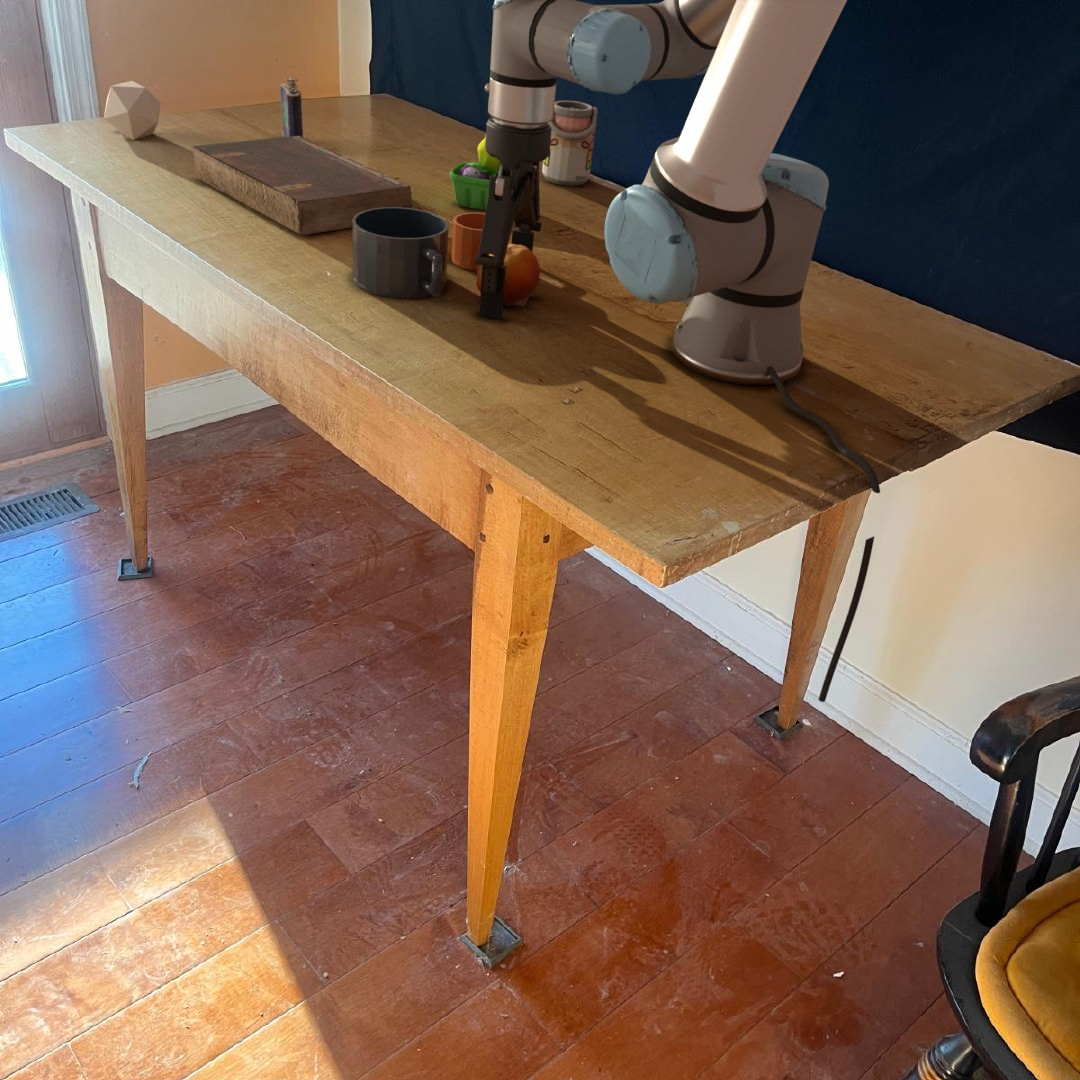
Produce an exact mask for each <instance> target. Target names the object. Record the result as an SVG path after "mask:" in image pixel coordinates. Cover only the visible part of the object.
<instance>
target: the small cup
mask: <svg viewBox="0 0 1080 1080" xmlns="http://www.w3.org/2000/svg"><path fill="white" fill-rule="evenodd" d="M484 218H485V212H477V211H476V212H464V213H459V214H457V215H455V216H454V217H453V219H452V236H451V238H452V239H451V240H452V241H451V261H452V263H453V264H454V265H455V266H457V267H460V268H462V269H464V270H465V269H466V270H470V271H475V272H477V268H478V264H475V257H478V252H479V246H480V241H481V235H482V229H483V224H484Z"/></svg>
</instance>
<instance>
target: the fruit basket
mask: <svg viewBox="0 0 1080 1080" xmlns="http://www.w3.org/2000/svg"><path fill="white" fill-rule="evenodd" d="M485 143H486V134H484V138H483V139H482V140H481V141H480V142H479V144H478V145H477V156H478V162H466V161H465V162H461V163H460V164H458V165H457V166H456V167H454V168H453V169H452V170H450V171H449V177H450V180H451V182H452V188H453V193H454V196H455V201H456V205H457V206H458V207H463V208H470V209H475V210H476V209H477V210H481V211H484V210H485V211H486V207H487V201H488V194H489V180H490V177H491V176H495V175H496V172H499V168H500V165H501V164H500V161H499V160H498V159H497V158H496V157H492V156H491V155H489V154H488V153H487V151H486V149H485ZM499 198H500V197H499Z"/></svg>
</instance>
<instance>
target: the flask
mask: <svg viewBox="0 0 1080 1080" xmlns="http://www.w3.org/2000/svg"><path fill="white" fill-rule="evenodd" d="M285 81H286V83H281V84H280V85H279V92H280V93H279V94H280V95H279V96H280V108H281V130H282V133H281V137H290V136H301V137H303V138H304V130H303V128H304V127H303V109H302V108H303V107H302V92H301V90H300V89H299V88H298V86H297V84H296V82H298V81H299V78H295V77H294V78H285Z"/></svg>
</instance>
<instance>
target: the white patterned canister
mask: <svg viewBox="0 0 1080 1080" xmlns="http://www.w3.org/2000/svg"><path fill="white" fill-rule="evenodd" d="M598 115H599V110H598V108H597V107H596V106H592V105H590V104H588V103H585V102H581V101H576V100H557V101H555V105H554V116H553V119H552V120H551V121H550V122H548V123H549V124H550V126H551V128H552V132H551V142H550V152H549V156H548V157H547V158H546V159H545V160H543V161H542V168H541V172H542V175H543V177H544V178H545V180H546V181H548V182H549V183H552V184H556V185H561V186H568V187H569V186H571V187H573V186H575V187H576V186H581V185H584V184H586V183H587V182H588V181H589V179H590V176H591V169H592V159H593V151H594V143H595V136H596V135H595V134H596V128H597V118H598Z"/></svg>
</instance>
